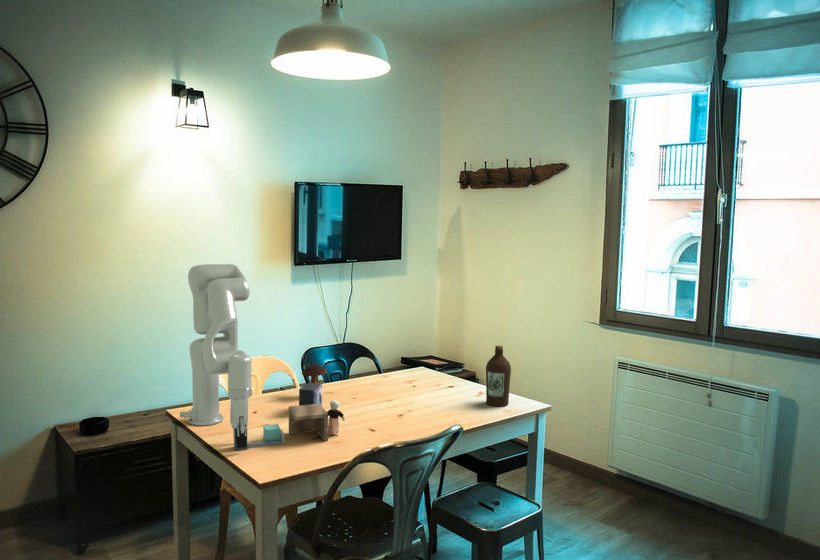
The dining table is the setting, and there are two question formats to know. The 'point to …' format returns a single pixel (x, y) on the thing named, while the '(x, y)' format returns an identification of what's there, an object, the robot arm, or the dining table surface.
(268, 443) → the grey long piece
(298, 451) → the dining table surface
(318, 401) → the small box
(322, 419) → the cubby
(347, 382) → the dining table surface
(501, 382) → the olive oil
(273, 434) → the block
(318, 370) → the decorative mushroom
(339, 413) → the grandmother figurine
